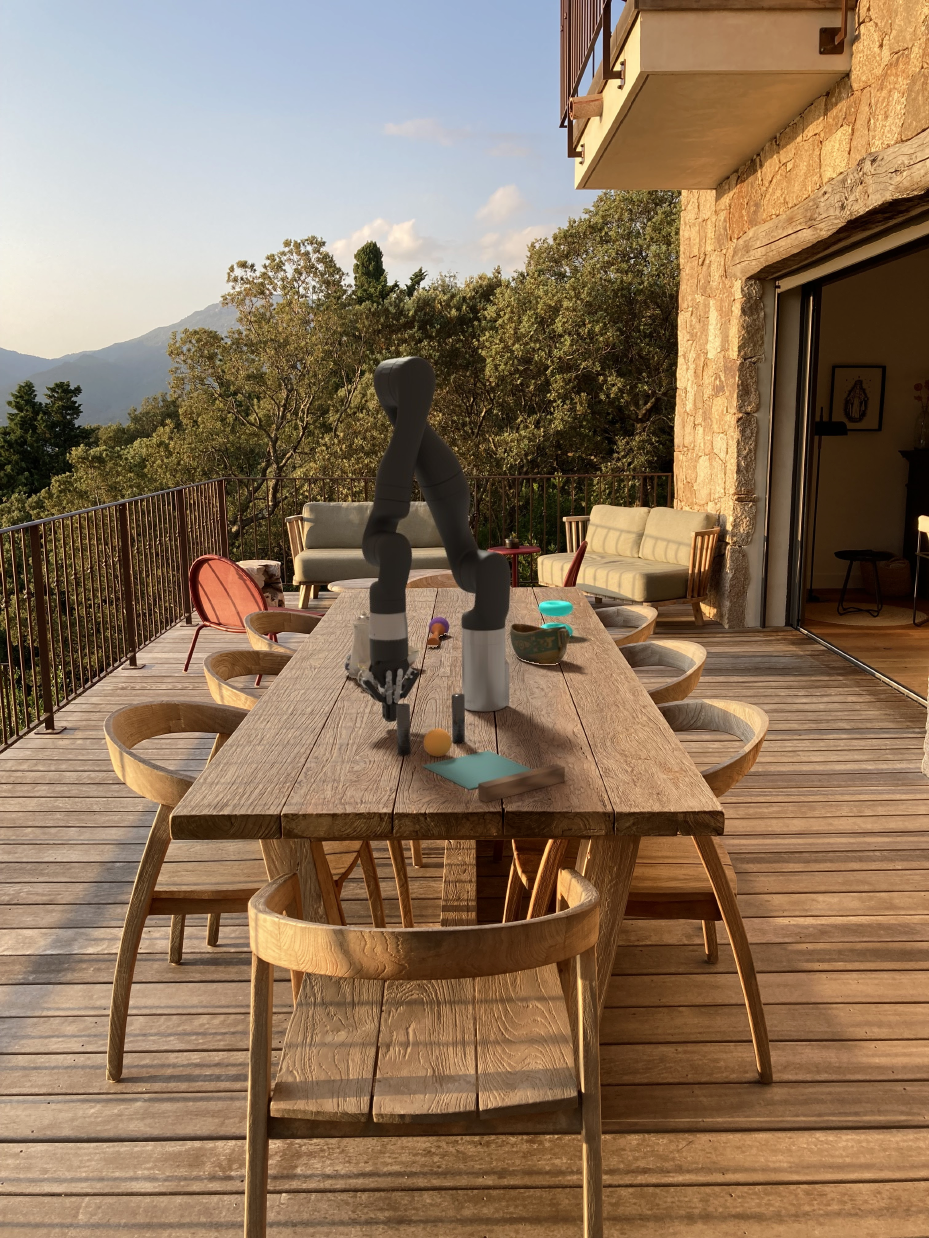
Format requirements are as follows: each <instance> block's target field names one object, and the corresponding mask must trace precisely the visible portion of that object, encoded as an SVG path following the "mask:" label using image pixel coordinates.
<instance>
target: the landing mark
mask: <svg viewBox="0 0 929 1238" xmlns="http://www.w3.org/2000/svg"><path fill="white" fill-rule="evenodd" d="M422 767H423V768H424V769H427V770H429V771H431V772H433V773H434V774H437V775H439V776H441V777H442V778H445V779H447V780H448V781H451V782H452V783H454V784H457V785H458V786H460V787H463V788H464V789H466V790H468V791H470V790H474V789H478V783H482V782H486V781H490V780H494V779H498V778H502V777H506V776H510V775H514V774H518V773H522V772H526V771H530V770H533V769H532V768H530V767H528V766H525V765H524V764H520V763H519V762H516V761H514V760H512V759H509V758H507V757H504V756H502V755H500V754H497V753H495V752H493V751H490V750H484V751H479V752H475V753H472V754H466V755H463V756H462V755H461V756H457V757H455V758H454V757H453V758H450V759H449V758H448V759H445V760H440V761H436V762H431V763H428V764H424V765H422Z"/></svg>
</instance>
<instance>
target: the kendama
mask: <svg viewBox="0 0 929 1238" xmlns="http://www.w3.org/2000/svg"><path fill="white" fill-rule="evenodd" d="M428 630H429V632H430V634H431V633H432V634H433V635H432V634H431V636H430V637H429V638H428V639H427V641H426V645H438V646H439V645H440V640H439V639H440V637H439V636H440V635H444V633H447V634H448V633H449V630H450V624H449V620H447V619H446V618H445V617H442V616H436V617H434V618H432V620H430V622H429V624H428Z"/></svg>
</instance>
